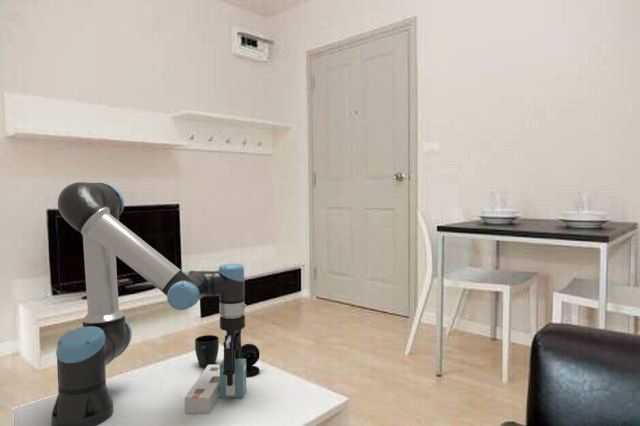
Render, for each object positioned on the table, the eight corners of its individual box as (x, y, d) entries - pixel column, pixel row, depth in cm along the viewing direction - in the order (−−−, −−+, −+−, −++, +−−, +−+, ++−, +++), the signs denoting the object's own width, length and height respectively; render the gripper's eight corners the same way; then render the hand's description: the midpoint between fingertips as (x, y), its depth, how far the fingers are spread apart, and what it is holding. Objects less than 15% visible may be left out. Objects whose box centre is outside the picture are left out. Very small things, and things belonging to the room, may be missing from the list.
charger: (209, 397, 136) (208, 364, 135) (213, 390, 141) (213, 358, 140) (243, 397, 136) (243, 365, 135) (246, 390, 141) (246, 358, 140)
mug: (190, 373, 154) (189, 346, 154) (198, 360, 166) (198, 335, 166) (214, 373, 154) (213, 345, 154) (221, 360, 166) (220, 334, 166)
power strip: (184, 413, 126) (184, 396, 126) (214, 368, 159) (214, 355, 158) (209, 413, 126) (209, 397, 126) (234, 368, 158) (234, 355, 158)
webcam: (238, 378, 150) (238, 348, 149) (235, 370, 157) (235, 341, 157) (261, 375, 152) (261, 346, 152) (257, 367, 159) (257, 339, 159)
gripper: (237, 324, 127) (239, 404, 128) (250, 307, 147) (251, 376, 148) (211, 324, 128) (212, 404, 129) (227, 306, 147) (228, 376, 148)
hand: (233, 389), depth 138 cm, fingers open, 6 cm apart
